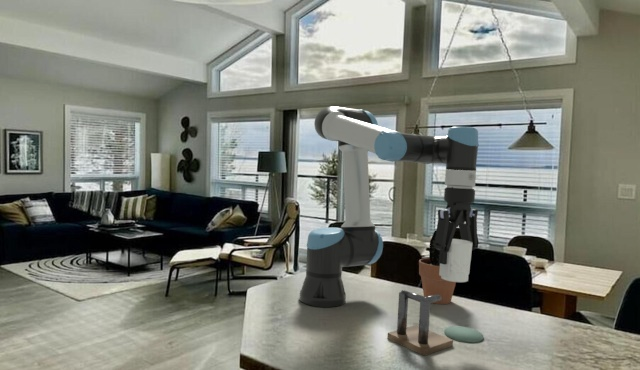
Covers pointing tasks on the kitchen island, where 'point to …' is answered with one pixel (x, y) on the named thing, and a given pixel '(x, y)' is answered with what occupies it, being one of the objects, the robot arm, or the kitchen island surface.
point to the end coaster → (463, 334)
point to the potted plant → (434, 276)
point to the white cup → (459, 260)
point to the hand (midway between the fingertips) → (454, 274)
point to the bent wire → (422, 318)
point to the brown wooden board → (411, 342)
